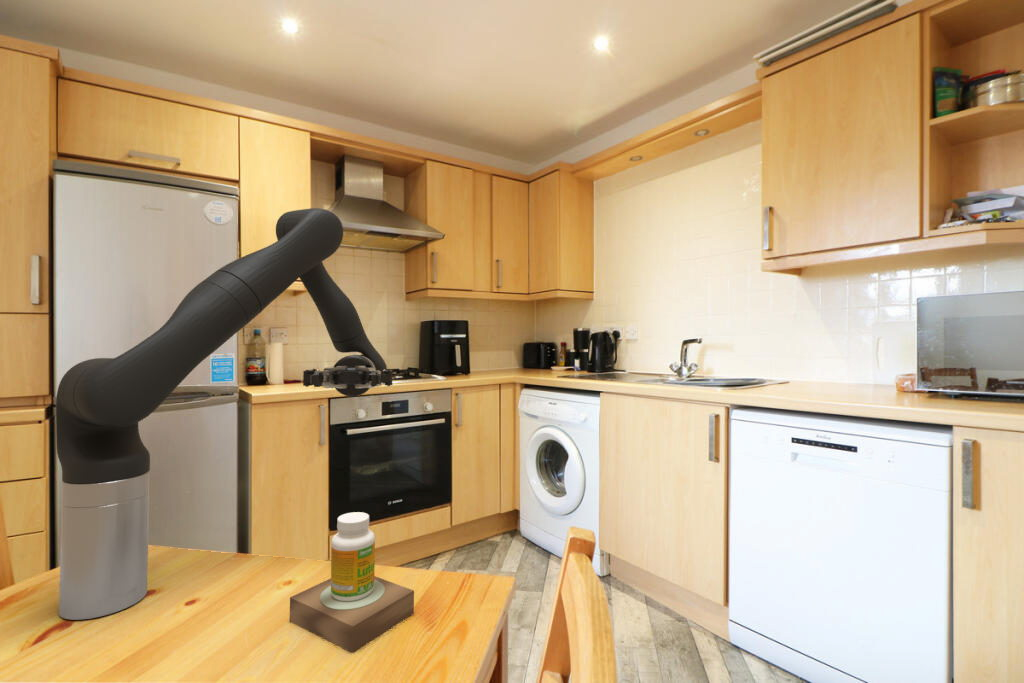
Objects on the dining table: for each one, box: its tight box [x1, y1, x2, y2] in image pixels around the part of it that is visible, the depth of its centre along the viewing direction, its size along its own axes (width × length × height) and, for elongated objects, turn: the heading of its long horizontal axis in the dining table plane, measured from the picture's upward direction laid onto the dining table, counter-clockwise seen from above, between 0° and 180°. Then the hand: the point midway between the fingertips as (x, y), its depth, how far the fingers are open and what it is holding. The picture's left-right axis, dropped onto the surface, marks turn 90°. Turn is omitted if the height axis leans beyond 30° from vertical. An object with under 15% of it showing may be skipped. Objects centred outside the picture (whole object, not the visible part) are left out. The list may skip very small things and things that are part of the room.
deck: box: [289, 575, 415, 654], centre depth 63 cm, size 12×10×3 cm
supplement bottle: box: [330, 511, 376, 601], centre depth 63 cm, size 5×5×10 cm
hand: (345, 380), depth 76 cm, fingers open, 8 cm apart
